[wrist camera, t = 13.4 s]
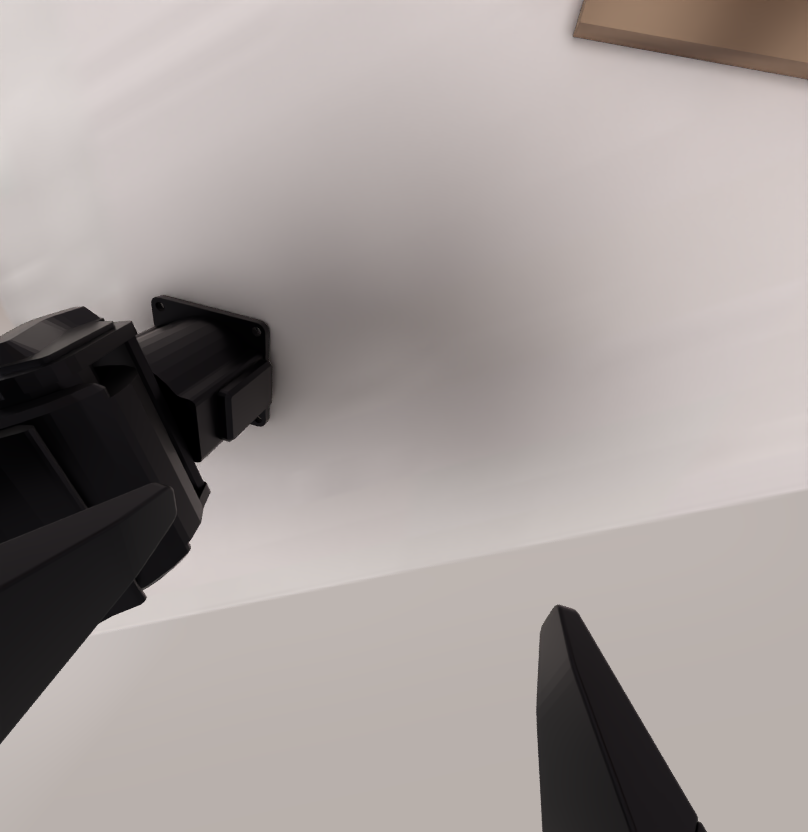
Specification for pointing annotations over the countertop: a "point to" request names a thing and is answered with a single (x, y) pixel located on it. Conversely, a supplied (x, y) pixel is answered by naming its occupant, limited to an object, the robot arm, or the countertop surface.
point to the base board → (706, 30)
